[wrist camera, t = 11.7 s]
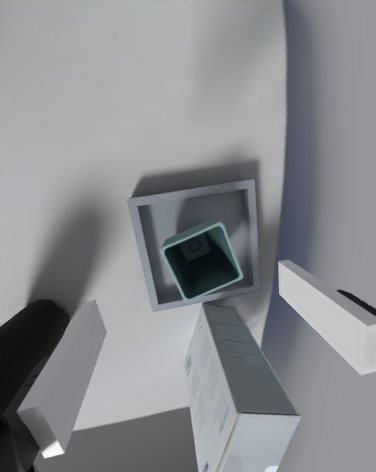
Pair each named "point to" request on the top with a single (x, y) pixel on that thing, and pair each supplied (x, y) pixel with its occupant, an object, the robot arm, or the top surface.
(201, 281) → the flower pot
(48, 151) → the top surface
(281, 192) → the top surface
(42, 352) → the portable speaker
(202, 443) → the hard drive box
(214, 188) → the tray
